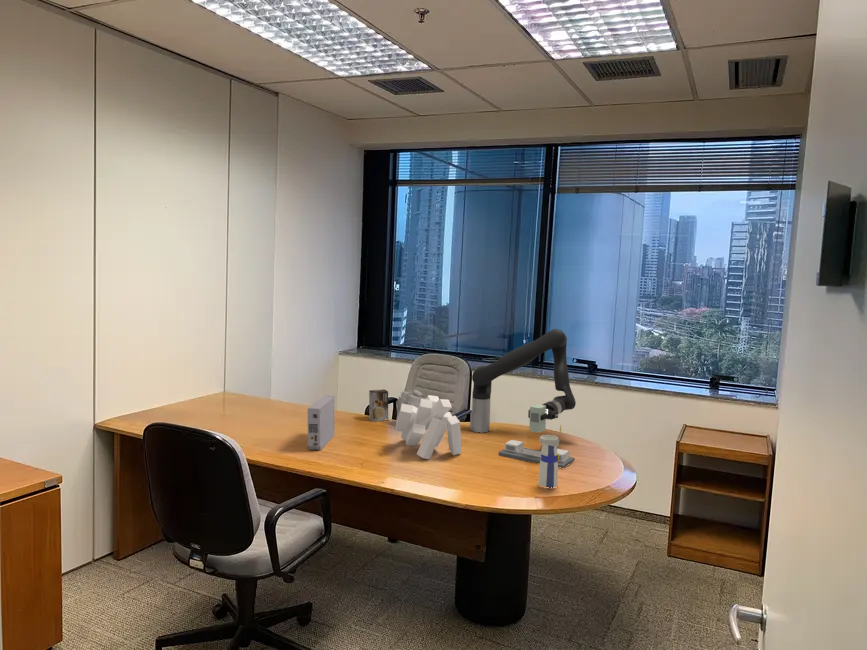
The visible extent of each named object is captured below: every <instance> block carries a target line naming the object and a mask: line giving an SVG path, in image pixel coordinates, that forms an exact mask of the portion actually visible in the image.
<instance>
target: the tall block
mask: <svg viewBox="0 0 867 650" xmlns="http://www.w3.org/2000/svg"><path fill="white" fill-rule="evenodd" d="M529 409H530V418H529V426H528V427H529V429H528V430H529V432H532V433H538V434H541V433H542V432H544V431H546V424H547V423H546V420H547V419H544V420H540V417H541V415H543V414H545V413H546V406H545V405H542V404H537V403H536V404H533V405H531V406H530V407H529Z"/></svg>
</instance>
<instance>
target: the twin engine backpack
mask: <svg viewBox="0 0 867 650" xmlns="http://www.w3.org/2000/svg"><path fill="white" fill-rule="evenodd" d="M421 397H423V399H426V398H427V396H426V395H425V394H423V393H422V392H421V391H419V390H417V389H414V390H413V389H409V391H406V390H404V391H401V392H400V396H398V399H397V400H396V404H395V406H396V420H397V419H398V415H399V412H400V408H401V405H402V404H407V405H413V406H415V407H417V408H418V407H419V403H420V400H421V399H422V398H421Z"/></svg>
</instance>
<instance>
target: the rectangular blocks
mask: <svg viewBox="0 0 867 650" xmlns="http://www.w3.org/2000/svg"><path fill="white" fill-rule="evenodd" d="M523 448H524V441H519V440H515V439H511V440H509V441H506V442H505V443H504V449H505V450H508V451H513V452H518V451H520V450H521V449H523ZM557 451H558V453H559V461H562V462H563V461H565V460H566V459H568V458H569V457H570V450H567V449H562V448H561V449H560V448H557Z"/></svg>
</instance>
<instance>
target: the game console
mask: <svg viewBox="0 0 867 650" xmlns="http://www.w3.org/2000/svg"><path fill="white" fill-rule="evenodd" d="M334 436H335V395H327V394H323V396H321V397H320V398H319V399H317V400H316V401H315V402H314V403H313V404H311V405H310V406H309V407H307V447H308V450H313V451H314V450H315V451H316V450H317V451H322V450H323V448H324V447H325V446H326V445H327V444H328V443H329V442H330V441H331V440H332V439H333V438H334Z"/></svg>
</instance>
